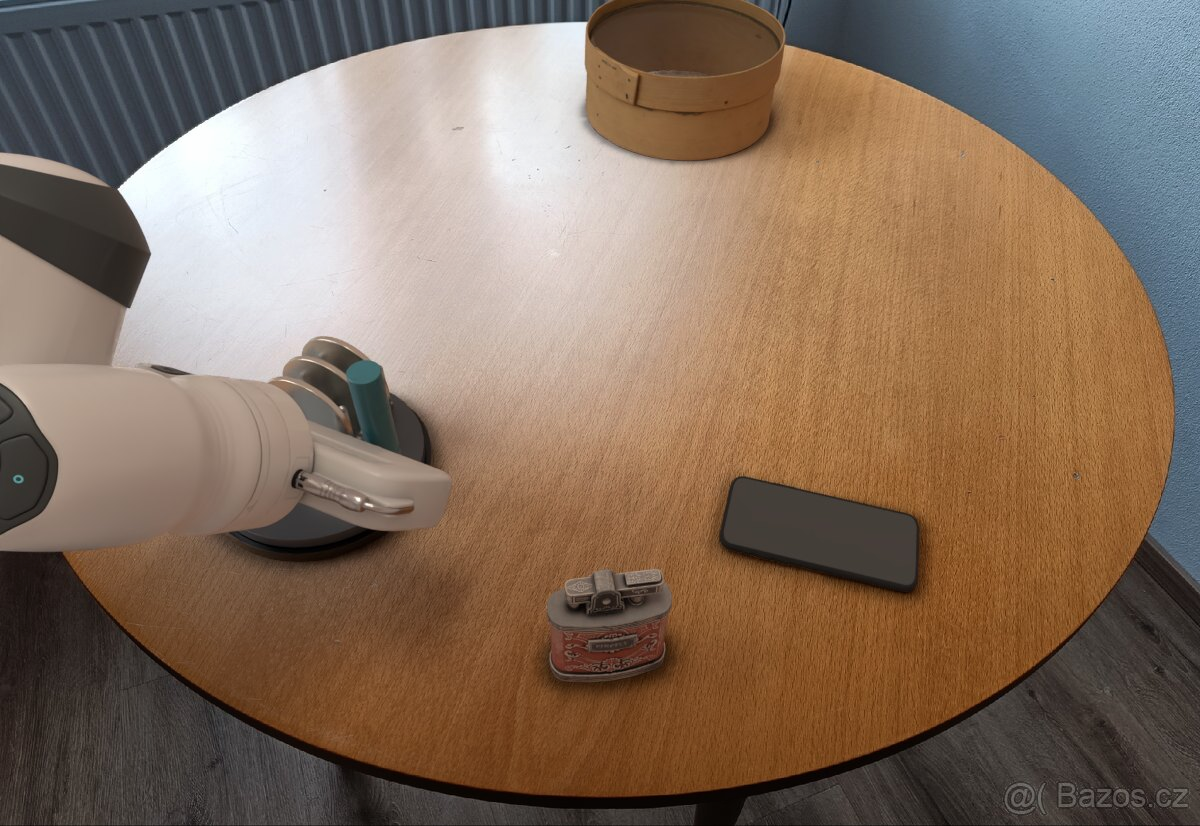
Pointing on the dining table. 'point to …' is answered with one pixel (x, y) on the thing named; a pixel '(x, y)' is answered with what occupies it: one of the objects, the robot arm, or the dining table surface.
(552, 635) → the lighter
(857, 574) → the smartphone
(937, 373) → the dining table surface
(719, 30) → the steamer basket
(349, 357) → the dish rack
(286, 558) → the rack base
